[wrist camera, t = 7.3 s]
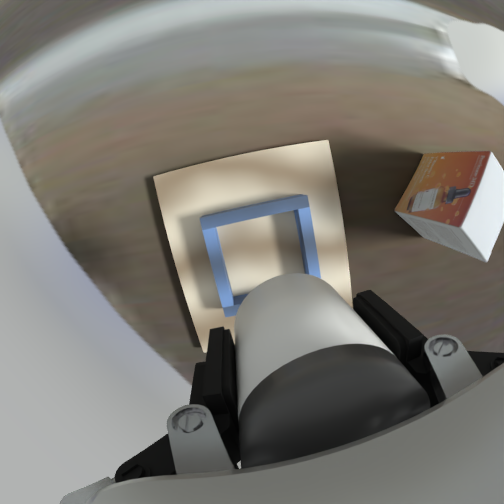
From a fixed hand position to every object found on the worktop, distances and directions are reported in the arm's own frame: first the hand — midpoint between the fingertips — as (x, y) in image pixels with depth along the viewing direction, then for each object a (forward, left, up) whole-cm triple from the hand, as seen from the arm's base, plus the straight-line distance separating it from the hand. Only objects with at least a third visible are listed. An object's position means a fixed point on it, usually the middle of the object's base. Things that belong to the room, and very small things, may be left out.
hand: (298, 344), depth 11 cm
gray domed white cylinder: (0, 0, -1) cm, 1 cm away
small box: (+2, -19, -17) cm, 25 cm away
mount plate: (0, 0, -16) cm, 16 cm away
